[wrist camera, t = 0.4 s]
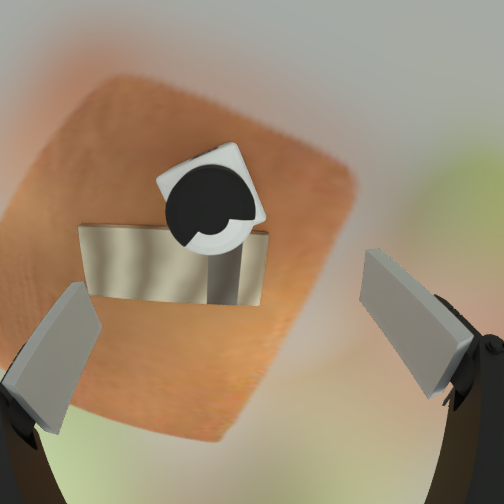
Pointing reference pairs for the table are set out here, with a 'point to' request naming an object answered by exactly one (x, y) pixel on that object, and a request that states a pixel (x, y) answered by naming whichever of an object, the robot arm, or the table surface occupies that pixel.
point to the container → (211, 201)
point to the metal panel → (169, 266)
